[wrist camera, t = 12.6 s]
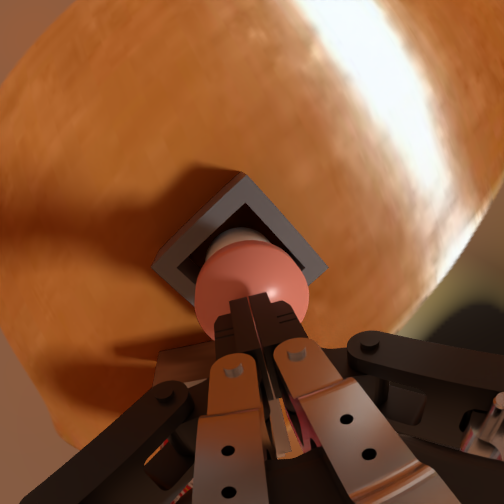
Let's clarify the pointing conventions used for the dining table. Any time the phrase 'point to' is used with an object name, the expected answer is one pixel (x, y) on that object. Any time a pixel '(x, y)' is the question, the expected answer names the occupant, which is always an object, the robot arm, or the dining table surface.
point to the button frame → (216, 213)
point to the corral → (198, 369)
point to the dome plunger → (246, 276)
